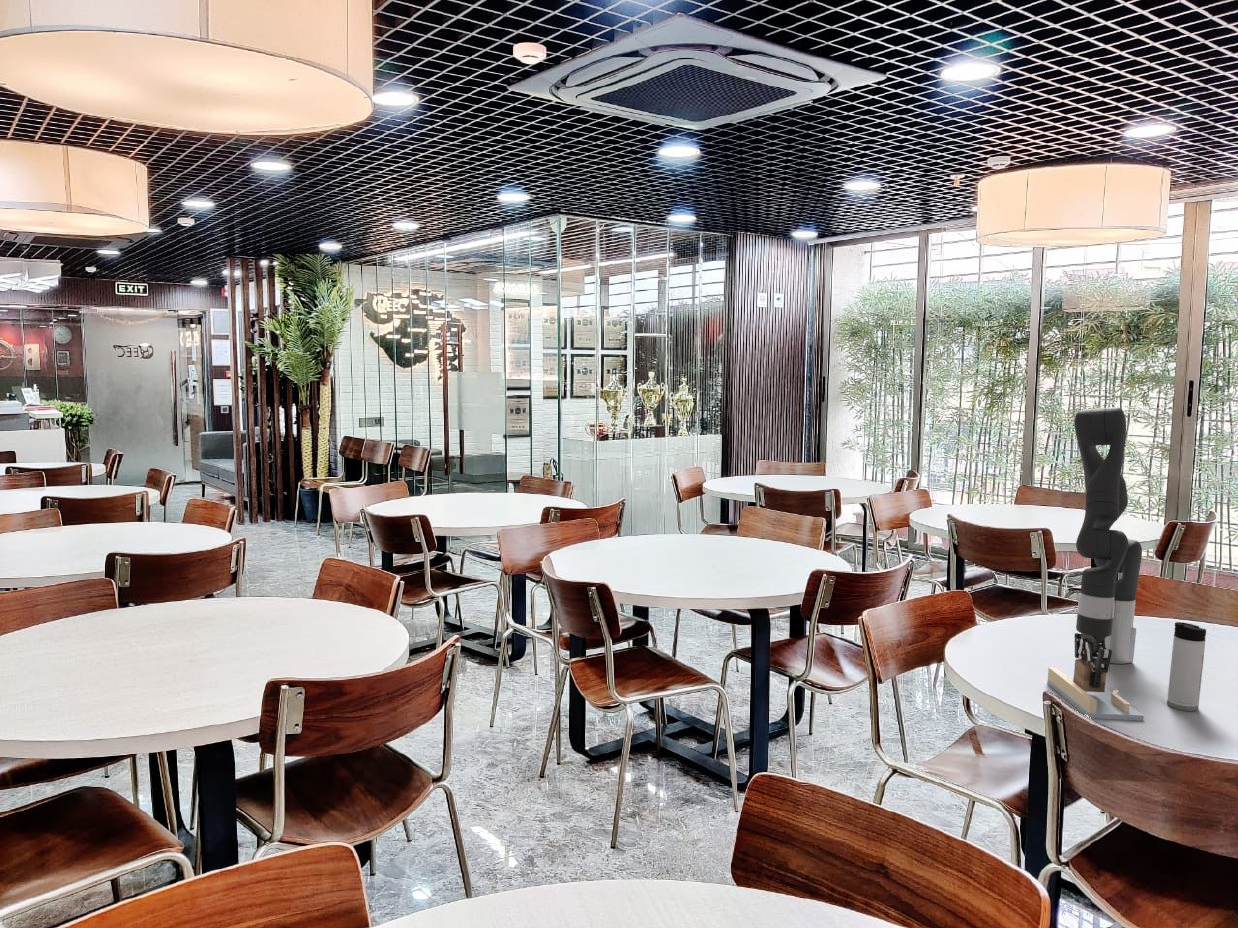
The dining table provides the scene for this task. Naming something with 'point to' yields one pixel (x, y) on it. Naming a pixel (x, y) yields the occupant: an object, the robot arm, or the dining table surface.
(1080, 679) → the walnut box
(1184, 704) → the travel mug
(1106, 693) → the board
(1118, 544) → the robot arm
